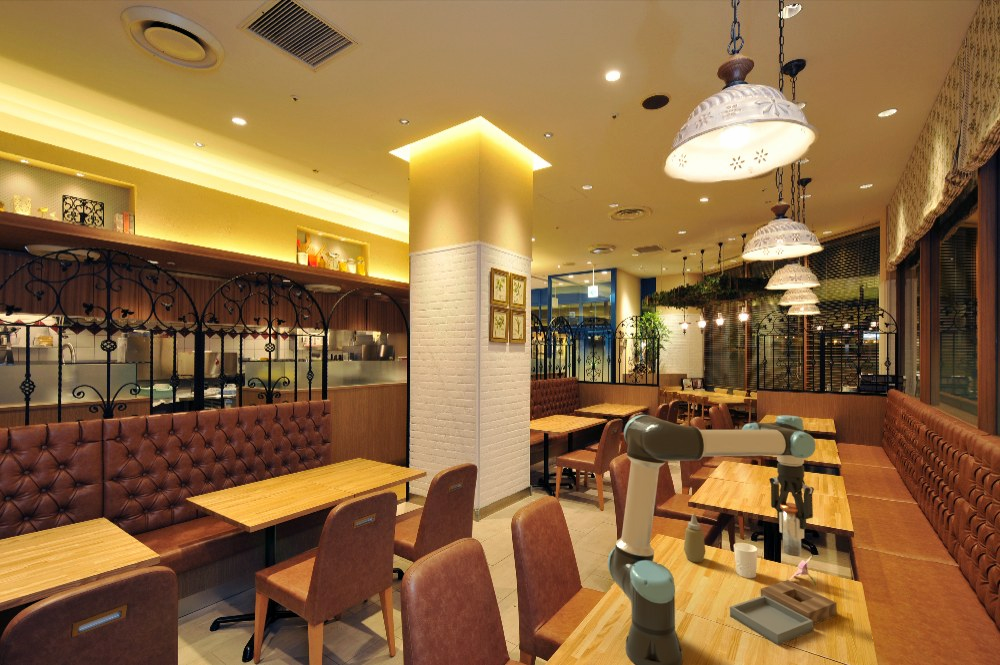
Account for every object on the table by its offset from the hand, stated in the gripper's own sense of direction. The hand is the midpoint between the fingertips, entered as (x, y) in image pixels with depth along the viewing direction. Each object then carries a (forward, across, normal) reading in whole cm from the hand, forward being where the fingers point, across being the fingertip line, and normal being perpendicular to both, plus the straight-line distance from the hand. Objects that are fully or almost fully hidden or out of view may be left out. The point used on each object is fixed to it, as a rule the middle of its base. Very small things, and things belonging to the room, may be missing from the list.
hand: (791, 534), depth 154 cm
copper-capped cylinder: (+6, 0, 0) cm, 6 cm away
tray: (+24, -2, +14) cm, 28 cm away
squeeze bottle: (+24, +40, 0) cm, 47 cm away
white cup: (+24, +23, -8) cm, 34 cm away
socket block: (+24, 0, -2) cm, 24 cm away
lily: (+24, +10, -21) cm, 34 cm away
